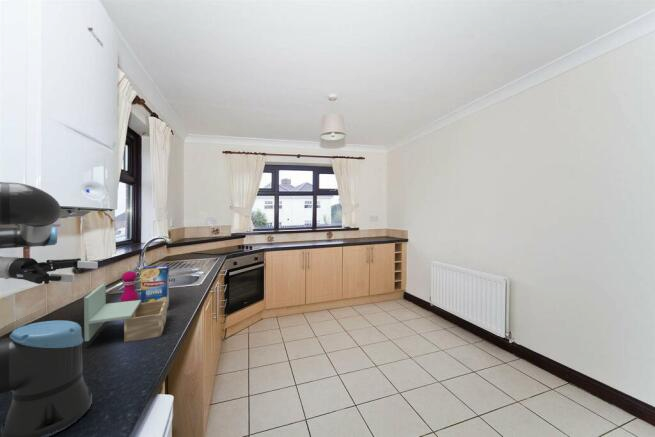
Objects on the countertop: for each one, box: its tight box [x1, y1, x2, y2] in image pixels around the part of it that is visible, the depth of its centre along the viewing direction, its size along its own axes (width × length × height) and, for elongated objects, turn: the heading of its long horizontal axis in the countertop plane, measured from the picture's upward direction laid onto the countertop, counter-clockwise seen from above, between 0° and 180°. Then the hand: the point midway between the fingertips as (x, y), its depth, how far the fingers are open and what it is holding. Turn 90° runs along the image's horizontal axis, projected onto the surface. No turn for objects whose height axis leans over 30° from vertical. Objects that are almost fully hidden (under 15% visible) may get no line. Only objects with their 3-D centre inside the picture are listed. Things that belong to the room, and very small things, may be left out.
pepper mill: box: [120, 268, 139, 302], centre depth 134 cm, size 7×7×20 cm
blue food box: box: [140, 264, 170, 312], centre depth 131 cm, size 7×11×22 cm, turn 115°
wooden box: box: [123, 300, 167, 343], centre depth 110 cm, size 18×12×9 cm, turn 26°
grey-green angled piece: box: [83, 283, 141, 342], centre depth 105 cm, size 19×14×16 cm
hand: (86, 271), depth 99 cm, fingers open, 13 cm apart
